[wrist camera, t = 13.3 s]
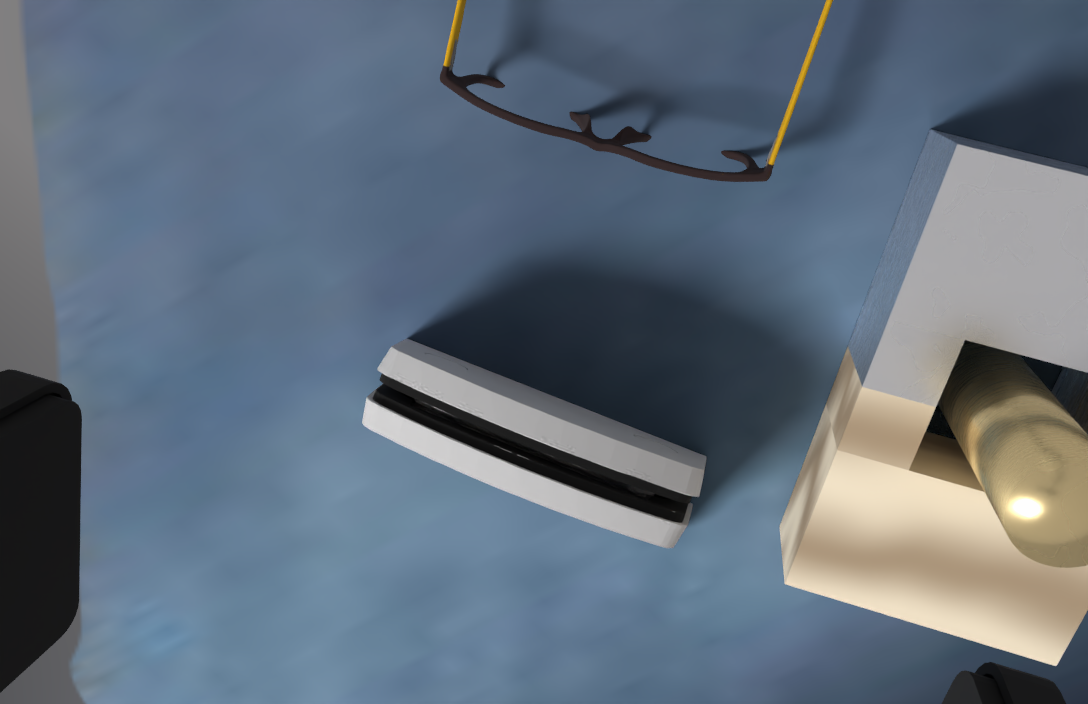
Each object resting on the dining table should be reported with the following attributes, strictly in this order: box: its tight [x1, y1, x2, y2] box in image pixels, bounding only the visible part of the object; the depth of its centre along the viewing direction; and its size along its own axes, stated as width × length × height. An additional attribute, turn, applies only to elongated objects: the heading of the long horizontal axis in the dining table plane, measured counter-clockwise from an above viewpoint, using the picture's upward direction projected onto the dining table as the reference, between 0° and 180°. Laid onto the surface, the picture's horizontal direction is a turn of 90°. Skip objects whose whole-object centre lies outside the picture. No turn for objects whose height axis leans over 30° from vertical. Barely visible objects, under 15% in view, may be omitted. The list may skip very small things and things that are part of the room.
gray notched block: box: [848, 129, 1088, 435], centre depth 36 cm, size 10×12×5 cm
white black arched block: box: [362, 339, 707, 548], centre depth 42 cm, size 17×5×10 cm, turn 71°
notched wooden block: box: [780, 347, 1088, 666], centre depth 40 cm, size 10×12×5 cm
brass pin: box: [938, 341, 1088, 568], centre depth 35 cm, size 4×4×12 cm
